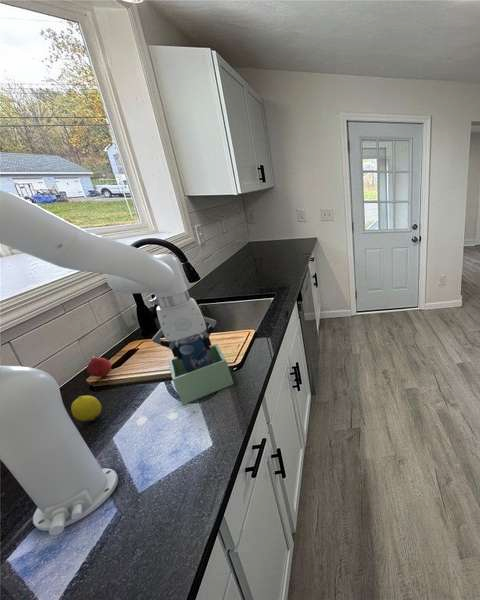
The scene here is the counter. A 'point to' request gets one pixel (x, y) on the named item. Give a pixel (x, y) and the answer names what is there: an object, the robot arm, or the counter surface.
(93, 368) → the onion
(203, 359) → the soda can
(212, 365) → the bin
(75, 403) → the lemon
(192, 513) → the counter surface
